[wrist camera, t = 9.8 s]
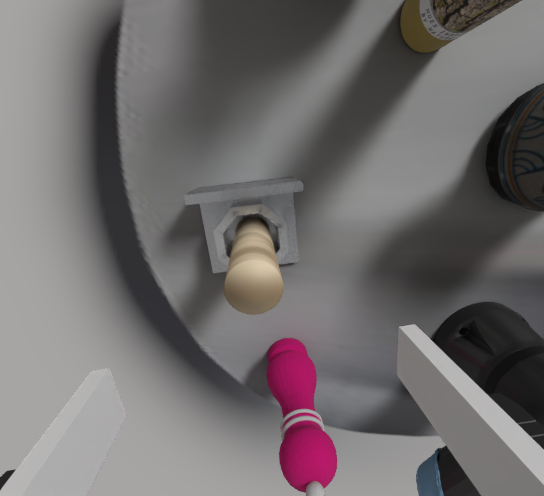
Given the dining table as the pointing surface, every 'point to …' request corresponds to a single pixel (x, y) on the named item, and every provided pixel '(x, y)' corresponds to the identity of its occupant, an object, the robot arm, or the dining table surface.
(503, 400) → the robot arm
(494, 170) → the black tapered vessel
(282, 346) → the pepper mill
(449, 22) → the paper tube
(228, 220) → the cup bracket
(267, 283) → the wooden spindle
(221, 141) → the dining table surface
